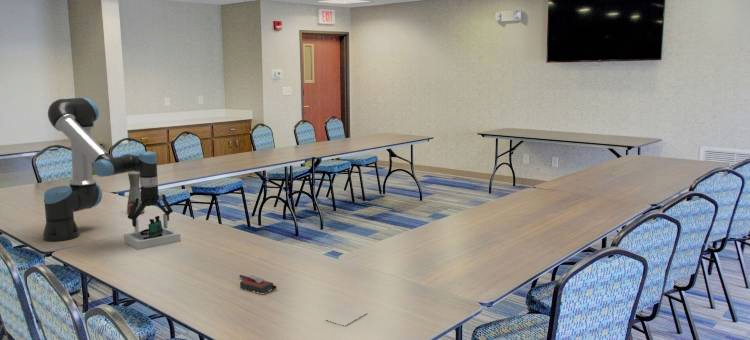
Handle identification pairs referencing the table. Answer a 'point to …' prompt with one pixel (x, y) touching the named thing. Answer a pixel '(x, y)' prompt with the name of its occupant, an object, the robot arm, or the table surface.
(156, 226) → the binoculars
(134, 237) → the case
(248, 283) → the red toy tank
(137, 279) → the table surface
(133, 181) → the bottle
